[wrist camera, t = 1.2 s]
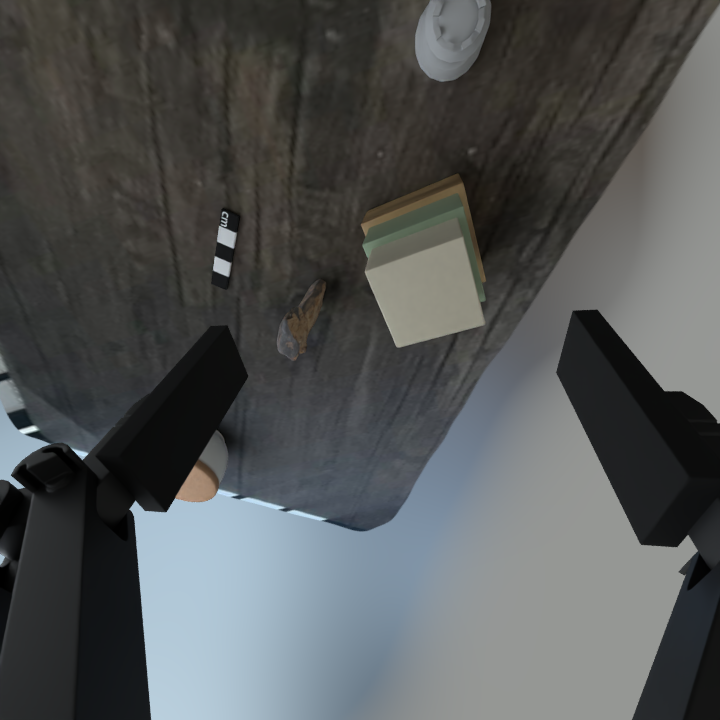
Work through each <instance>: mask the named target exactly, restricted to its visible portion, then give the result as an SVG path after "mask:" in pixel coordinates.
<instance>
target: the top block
mask: <svg viewBox="0 0 720 720" xmlns="http://www.w3.org/2000/svg"><path fill="white" fill-rule="evenodd" d="M365 274H366V276H367V279H368V281H369V283H370V286H371V288H372V290H373V293H374V295H375V297H376V300H377V302H378V304H379V307H380V309H381V311H382V314H383V316H384V319H385V321H386V323H387V326H388V328H389V330H390V333H391V335H392V337H393V340H394V342H395V344H396V347H397V348H399V347H403V346H407V345H411V344H414V343H418V342H422V341H426V340H430V339H433V338H437V337H441V336H445V335H448V334H452V333H456V332H460V331H464V330H467V329H471V328H475V327H479V326H483V325H485V320H484V316H483V312H482V308H481V304H480V300H479V296H478V292H477V288H476V284H475V280H474V276H473V272H472V268H471V264H470V260H469V256H468V252H467V248H466V244H465V240H464V236H463V233H462V230H461V227H460V224H459V220H458V218H453V219H451V220H448V221H445V222H443V223H440V224H437V225H435V226H432V227H430V228H427V229H424V230H422V231H419V232H416V233H414V234H411V235H408V236H406V237H403V238H400V239H398V240H395V241H392V242H390V243H387V244H384V245H382V246H379V247H376V248H374V249H372V250H371V253H370V256H369V259H368V262H367V266H366V269H365Z"/></svg>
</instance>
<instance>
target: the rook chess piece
mask: <svg viewBox="0 0 720 720" xmlns="http://www.w3.org/2000/svg"><path fill="white" fill-rule="evenodd" d="M490 17H491V2H490V0H430V2H429V4H428V6H427V7H426V9H425V10H424V12H423V14H422V15H421V17H420V20H419V23H418V27H417V31H416V34H415V53H416V56H417V59H418V62H419V65H420V67H421V69H422V70H423V71H424V72H425V73H426V74H427V75H428V76H429V77H430V78H432V79H435V80H438V81H440V82H444V81H451V80H455V79H457V78H458V77H460V76H461V75H463V74H464V73H466V72H467V71H468V70H469V68H470V67H471V66H472V64H473V63H474V62H475V60H476V59H477V57H478V55H479V52H480V49H481V47H482V44H483V41H484V38H485V35H486V33H487V30H488V27H489V25H490Z"/></svg>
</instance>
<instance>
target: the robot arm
mask: <svg viewBox="0 0 720 720" xmlns="http://www.w3.org/2000/svg"><path fill="white" fill-rule="evenodd" d="M556 373H557V375H558V377H559V379H560V381H561V383H562V385H563V387H564V389H565V391H566V393H567V395H568V397H569V399H570V401H571V403H572V405H573V407H574V409H575V412H576V414H577V416H578V418H579V420H580V422H581V424H582V426H583V428H584V430H585V432H586V434H587V436H588V438H589V440H590V442H591V444H592V446H593V448H594V450H595V452H596V454H597V456H598V458H599V460H600V462H601V464H602V466H603V469H604V471H605V473H606V475H607V477H608V479H609V481H610V483H611V485H612V487H613V489H614V491H615V493H616V495H617V497H618V499H619V501H620V503H621V505H622V507H623V509H624V511H625V514H626V515H627V518H628V519H629V522H630V524H631V526H632V528H633V530H634V532H635V534H636V536H637V538H638V540H639V542H640V544H641V545H652V546H666V547H667V546H668V547H678V546H679V544H680V543H681V542H682V541H683V540H684V539H685V537H686V536H687V535H689V537H690V538H691V540H692V541H693V543H694V545H695V546H696V548H697V550H698V552H697V553H696V554H695V555H694V556H693V557H692V558H691V559H690V560H689V561H688V562H687V563H686V564H685V565H684V566H683V567H682V569H681V570H680V571H679V572H680V573H681V574H683V575H685V574H686V576H685V579H684V581H683V584H682V587H681V589H680V592H679V595H678V598H677V600H676V603H675V606H674V608H673V611H672V614H671V617H670V619H669V622H668V624H667V627H666V630H665V633H664V635H663V638H662V641H661V643H660V646H659V649H658V651H657V654H656V657H655V659H654V662H653V665H652V667H651V670H650V673H649V676H648V678H647V681H646V684H645V686H644V689H643V692H642V694H641V697H640V700H639V702H638V705H637V708H636V711H635V714H634V716H633V719H632V720H720V423H719V424H718V423H717V420H716V419H715V418H714V416H713V415H712V414H711V413H710V412H709V411H708V410H707V409H706V408H705V407H704V405H702V404H701V403H699V402H698V401H696V400H695V399H693V398H691V397H690V396H688V395H687V394H685V393H684V392H682V391H679V392H678V391H672V392H670V391H664V390H663V389H662V388H661V387H660V385H659V384H658V383H657V382H656V381H655V379H654V378H653V377H652V376H651V375H650V373H649V372H648V371H647V370H646V368H645V367H644V366H643V365H642V364H641V362H640V361H639V360H638V359H637V358H636V356H635V355H634V354H633V353H632V352H631V350H630V349H629V348H628V347H627V345H626V344H625V343H624V342H623V340H622V339H621V338H620V337H619V336H618V334H617V333H616V332H615V331H614V330H613V328H612V327H611V326H610V325H609V323H608V322H607V321H606V320H605V319H604V317H603V316H602V315H601V314H600V312H599V311H598V310H580V311H579V310H578V311H573V312H572V316H571V319H570V323H569V327H568V331H567V334H566V338H565V342H564V346H563V349H562V353H561V357H560V361H559V364H558V368H557V372H556ZM247 378H248V374H247V372H246V369H245V367H244V364H243V362H242V360H241V357H240V355H239V352H238V350H237V347H236V345H235V343H234V340H233V338H232V335H231V333H230V330H229V328H228V326H227V325H226V326H210V328H209V329H208V330H207V331H206V332H205V333H204V334H203V335H202V337H201V338H200V339H199V340H198V341H197V342H196V343H195V344H194V345H193V347H192V348H191V349H190V350H189V351H188V352H187V353H186V354H185V356H184V357H183V358H182V359H181V360H180V361H179V362H178V363H177V364H176V366H175V367H174V368H173V369H172V370H171V371H170V372H169V373H168V375H167V376H166V377H165V378H164V379H163V380H162V381H161V382H160V383H159V385H158V386H157V387H156V388H155V389H154V390H153V391H152V392H151V394H148V395H146V396H145V397H143V398H142V399H141V400H139V401H138V402H136V403H135V404H134V405H133V406H132V407H131V408H130V409H129V410H128V411H127V412H126V413H125V415H124V418H121V419H120V420H119V421H118V422H117V423H116V424H115V427H113V428H112V429H111V430H110V431H109V432H108V433H107V434H106V435H105V436H104V437H103V439H102V440H101V441H100V442H99V443H98V444H97V445H96V446H95V447H94V448H93V449H92V451H91V452H90V453H89V454H88V455H87V456H86V457H85V458H84V459H83V460H81V458H80V457H79V456H78V455H77V454H76V453H75V452H74V451H73V450H72V449H71V448H70V447H69V446H68V445H66V444H64V443H54V444H51V445H48V446H45V447H42V448H41V449H39V450H37V451H35V452H33V453H31V454H30V455H29V456H27V457H26V458H25V459H23V460H22V461H21V462H20V463H19V464H18V465H17V466H16V467H15V469H14V471H13V472H12V474H11V476H12V477H14V478H15V479H16V480H17V481H18V482H19V483H21V484H22V485H23V486H24V487H25V488H22V489H17V488H16V487H15V486H13V485H12V484H11V483H10V482H8V481H5V480H0V554H1V555H3V556H5V559H4V561H3V563H2V564H1V565H0V720H151V713H150V702H149V691H148V678H147V666H146V654H145V642H144V630H143V618H142V606H141V594H140V582H139V571H138V559H137V548H136V535H135V523H134V516H133V513H132V512H131V511H130V510H129V509H130V507H131V506H132V505H133V503H134V502H135V500H136V501H137V502H138V504H139V505H140V506H141V507H142V508H143V509H144V510H145V511H155V512H167V510H168V509H169V507H170V505H171V504H172V502H173V501H174V499H175V497H176V496H177V494H178V492H179V491H180V489H181V487H182V486H183V484H184V482H185V481H186V479H187V477H188V476H189V474H190V472H191V471H192V469H193V467H194V466H195V464H196V462H197V461H198V459H199V457H200V456H201V454H202V452H203V451H204V449H205V447H206V446H207V444H208V443H209V441H210V439H211V438H212V436H213V434H214V433H215V431H216V429H217V428H218V426H219V424H220V423H221V421H222V419H223V418H224V416H225V414H226V413H227V411H228V409H229V408H230V406H231V404H232V403H233V401H234V399H235V398H236V396H237V394H238V393H239V391H240V389H241V388H242V386H243V385H244V383H245V381H246V380H247Z"/></svg>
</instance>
